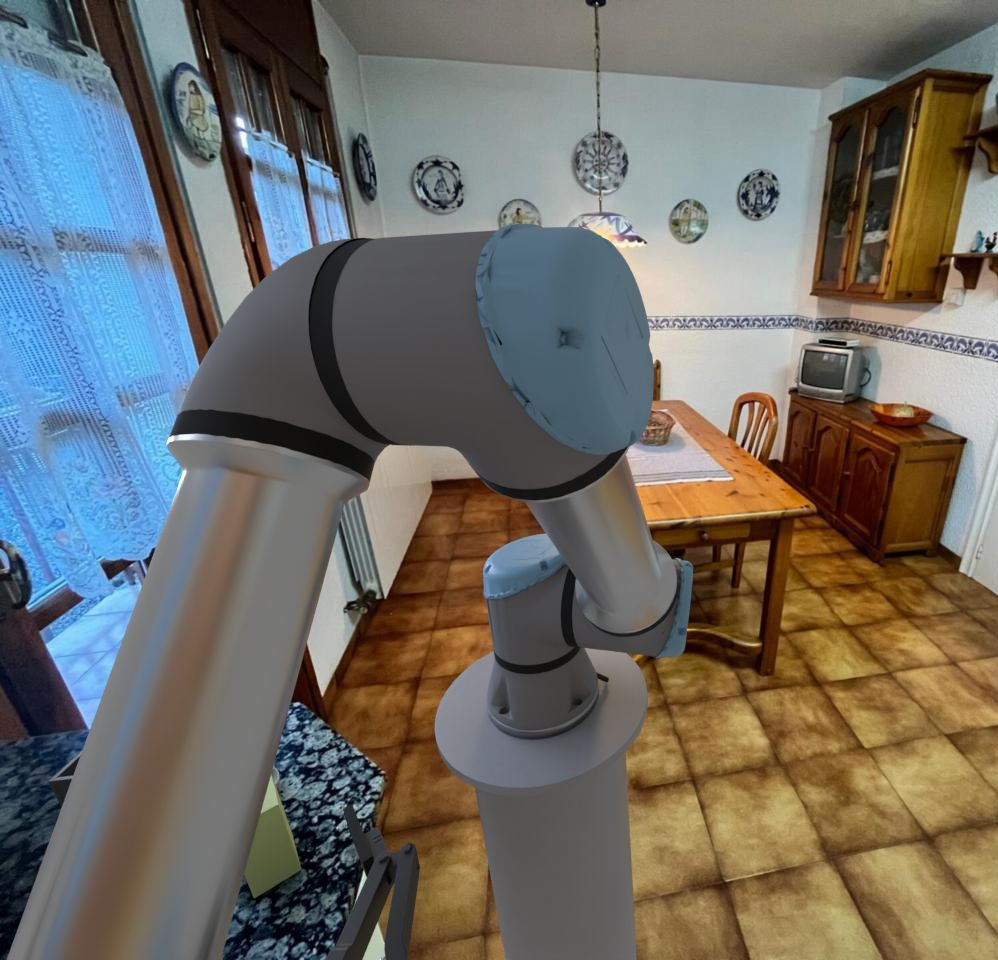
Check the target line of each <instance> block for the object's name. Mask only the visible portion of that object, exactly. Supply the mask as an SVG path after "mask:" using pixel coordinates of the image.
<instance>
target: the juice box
mask: <svg viewBox="0 0 998 960" xmlns="http://www.w3.org/2000/svg"><path fill="white" fill-rule="evenodd" d="M301 870H302V866H301V861H300V858H299V855H298V851H297V847H296V842H295V839H294V835H293V831H292V829H291V826H290V823H289V820H288V817H287V814H286V811H285V808H284V805H283V802H282V800H281V797H280V794H279V791H278V789H277V788H276V785H275V782H274V779H273V776H272V774H271V777H270V781H269V784H268V788H267V792H266V795H265V799H264V803H263V806H262V810H261V814H260V817H259V821H258V825H257V829H256V832H255V836H254V840H253V843H252V847H251V851H250V854H249V858H248V862H247V865H246V869H245V873H244V877H245V880H246V882H247V885H248V887H249V889H250V892H251V895H252V897H253V899H256V898H257V897H259V896H261V895H263V894H264V893H266V892H268V891H269V890H271V889H272V888H274V887H275V886H277V885H279V884H280V883H282V882H284V881H286V880H287V879H289V878H290V877H292V876H294V875H295V874H297V873H299V872H300V871H301Z"/></svg>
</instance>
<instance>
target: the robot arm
mask: <svg viewBox="0 0 998 960" xmlns="http://www.w3.org/2000/svg"><path fill="white" fill-rule="evenodd" d="M647 315H648V314H647V311H646V307H645V303H644V300H643V297H642V293H641V291H640V287H639V285H638V282H637V279H636V278H635V275H634V273H633V271H632V268H631V267H630V265H629V263H628V261H627V260H626V258H625V257H624V255H623V254H622V253H621V252H620V251H619V249H618V248H617V247H616V246H615V244H613V242H612V241H610V240H609V239H607V238H605V237H603V236H602V235H600V234H598V233H596V232H595V231H593V230H591V229H590V228H585V227H581V226H549V227H548V226H546V227H545V226H544V227H543V226H540V225H539V224H536V223H535V224H533V223H519V222H518V223H514V224H507V225H504V226H501V227H498V229H496V230H481V231H479V230H478V231H466V232H465V231H464V232H452V233H451V232H450V233H449V232H448V233H437V234H436V233H431V234H418V235H403V236H402V235H401V236H387V237H378V238H371V237H356V238H342V239H337V240H332V241H329V242H328V241H327V242H324V243H320V244H318V245H315V246H313V247H310V248H309V249H305V250H304V251H302V252H300V253H298V254H295V255H293V256H292V257H290V258H289V259H287V260H286V261H285V262H283V263H282V264H280V265H279V266H278V267H277V268H275V269H274V270H273V271H271V272H270V273H269V274H267V275H266V276H265V277H263V279H261V281H260V282H259V283H258V284H257V285H256V286H255V287H254V288H253V289H252V290H251V291H250V292H249V293H248V294H247V295H246V296H245V297H244V298H243V300H242V301H241V302H240V304H239V305H238V307H237V308H236V309H235V310H234V311H233V313H232V314H231V316H230V317H229V318H228V320H226V322H225V323H224V325H223V327H221V330H220V331H219V332H218V334H217V336H216V337H215V338H214V341H213V342H212V344H211V345H210V347H209V348H208V350H207V352H206V353H205V355H204V357H203V359H202V361H201V363H200V364H199V366H198V368H197V370H196V371H195V373H194V375H193V377H192V379H191V380H190V383H189V385H188V387H187V391H186V393H185V395H184V398H183V401H182V403H181V406H180V407H179V410H178V413H177V415H176V418H175V421H174V423H173V425H172V429H171V432H170V434H169V436H168V439H167V442H166V444H165V445H166V446H165V448H166V449H167V450H168V451H169V453H170V454H171V455H172V457H173V458H174V460H175V462H176V463H177V464H178V465H179V467H180V468H181V473H182V474H181V477H180V480H179V483H178V485H177V488H176V491H175V493H174V496H173V499H172V502H171V505H170V507H169V510H168V513H167V515H166V518H165V521H164V524H163V527H162V530H161V532H160V535H159V538H158V541H157V544H156V546H155V549H154V551H153V554H152V557H151V559H150V562H149V565H148V568H147V571H146V573H145V576H144V579H143V582H142V585H141V587H140V590H139V593H138V595H137V599H136V602H135V604H134V607H133V609H132V612H131V615H130V617H129V621H128V623H127V626H126V629H125V632H124V634H123V637H122V639H121V642H120V646H119V648H118V651H117V654H116V657H115V658H114V659H115V660H114V662H113V665H112V667H111V670H110V673H109V676H108V679H107V682H106V684H105V687H104V690H103V692H102V695H101V698H100V701H99V703H98V706H97V709H96V712H95V715H94V716H93V717H94V718H93V720H92V722H91V726H90V728H89V731H88V734H87V737H86V739H85V742H84V745H83V748H82V750H81V751H82V753H81V756H80V759H79V761H78V764H77V767H76V770H75V772H74V775H73V778H72V781H71V783H70V786H69V789H68V792H67V795H66V797H65V800H64V803H63V806H62V807H61V809H60V810H59V814H58V816H57V820H56V823H55V825H54V828H53V830H52V833H51V837H50V839H49V842H48V844H47V847H46V850H45V852H44V855H43V858H42V861H41V864H40V866H39V869H38V872H37V875H36V877H35V881H34V883H33V886H32V889H31V891H30V894H29V896H28V898H27V899H28V900H27V903H26V905H25V908H24V910H23V913H22V916H21V919H20V922H19V925H18V927H17V930H16V933H15V936H14V939H13V942H12V943H11V946H10V949H9V952H8V955H7V958H6V960H222V957H223V954H224V950H225V945H226V942H227V938H228V936H229V932H230V928H231V923H232V920H233V917H234V913H235V910H236V907H237V902H238V898H239V895H240V891H241V887H242V883H243V879H244V877H245V875H244V873H245V869H246V865H247V862H248V858H249V854H250V851H251V847H252V843H253V840H254V836H255V832H256V829H257V825H258V821H259V817H260V814H261V810H262V806H263V803H264V799H265V795H266V792H267V788H268V784H269V781H270V777H271V773H272V770H273V767H275V762H276V758H277V754H278V751H279V747H280V744H281V740H282V736H283V733H284V729H285V724H286V721H287V718H288V714H289V710H290V706H291V704H292V700H293V695H294V692H295V688H296V685H297V681H298V676H299V674H300V671H301V670H300V669H301V666H302V662H303V659H304V655H305V651H306V648H307V644H308V640H309V637H310V634H311V633H310V632H311V629H312V627H313V626H312V625H313V622H314V619H315V615H316V611H317V607H318V604H319V600H320V596H321V592H322V589H323V585H324V581H325V577H326V574H327V570H328V568H329V567H328V566H329V563H330V559H331V555H332V551H333V549H334V544H335V541H336V537H337V533H338V529H339V526H340V522H341V518H342V515H343V511H344V508H345V505H346V504H347V503H348V502H349V501H351V500H353V499H354V498H356V497H358V496H359V495H361V494H363V493H365V492H367V491H368V489H369V487H370V483H371V481H372V480H371V479H372V475H373V471H374V467H375V465H376V462H377V459H378V457H379V456H380V455H381V454H382V453H383V451H384V450H385V449H386V448H387V447H389V446H410V447H413V446H416V447H418V446H420V447H446V448H450V449H453V450H455V451H457V452H458V453H460V454H461V455H462V457H463V458H464V459H465V461H466V462H467V463H468V465H469V466H470V467H471V469H472V470H473V471H474V472H475V474H476V475H477V476H478V478H479V480H481V482H483V483H484V485H485V486H487V488H489V489H490V490H492V491H493V492H495V493H497V494H498V495H500V496H502V497H504V498H506V499H510V500H513V501H516V502H522V503H524V504H525V505H526V506H527V508H528V509H529V511H530V512H531V514H532V515H533V516H534V518H535V520H536V521H537V523H538V524H539V525H540V527H541V528H542V530H543V531H544V533H539V534H538V533H537V534H534V535H529V536H525V537H522V538H519V539H516V540H513V541H511V542H509V543H507V544H504V545H503V546H501V547H499V548H498V549H497V550H495V551H494V552H493V553H492V554H490V556H489V557H488V558H487V560H486V561H485V562H484V565H483V569H482V576H483V577H482V578H483V579H482V580H483V597H484V598H485V604H486V605H485V606H486V610H487V618H488V624H489V630H490V636H491V642H492V643H491V644H492V650H493V651H494V656H495V660H494V664H493V669H492V673H491V677H490V682H489V686H488V691H487V707H488V713H489V717H490V719H491V721H492V723H493V724H494V725H495V726H496V728H498V729H499V730H500V731H502V732H503V733H505V734H507V735H509V736H512V737H515V738H520V739H530V740H531V739H544V738H549V737H554V736H557V735H560V734H562V733H565V732H567V731H569V730H571V729H573V728H574V727H576V726H577V725H579V724H580V723H581V722H583V721H584V720H585V719H586V718H587V717H588V716H589V715H590V713H591V712H592V711H593V709H594V707H595V706H596V703H597V701H598V697H599V684H598V679H600V680H602V681H604V682H608V681H609V678H608V677H606V676H604V675H601V674H599V673H597V672H596V670H595V668H594V666H593V664H592V662H591V660H590V658H589V656H588V654H587V652H586V650H585V648H589V649H597V650H606V651H614V652H622V653H627V654H632V655H639V656H646V657H647V656H649V657H652V658H655V659H660V658H677V657H679V656H681V655H682V654H683V653H684V651H685V649H686V643H687V642H686V641H687V634H688V633H687V632H688V625H689V617H690V609H691V600H692V590H693V580H694V579H693V578H694V566H693V564H692V563H691V562H690V561H688V560H682V559H681V558H678V557H675V558H672V557H671V555H670V554H669V553H668V551H667V550H666V549H665V548H664V547H663V546H662V545H661V544H660V543H658V542H657V541H655V540H653V536H652V534H651V530H650V527H649V524H648V521H647V517H646V514H645V511H644V507H643V504H642V501H641V498H640V495H639V492H638V488H637V485H636V482H635V479H634V476H633V475H634V474H633V472H632V469H631V466H630V462H629V459H628V457H627V454H628V452H629V449H630V448H631V447H632V446H633V445H635V444H636V443H637V442H639V440H640V439H641V437H642V436H643V435H644V433H645V431H646V429H647V427H648V423H649V420H650V417H651V413H652V407H653V402H654V401H653V398H654V385H655V383H654V382H655V381H654V379H655V371H654V359H653V353H652V351H651V347H650V341H651V331H650V325H649V319H648V316H647ZM342 811H343V814H344V818H345V821H346V826H347V828H348V831H349V835H350V837H351V839H352V842H353V845H354V848H355V850H356V853H357V856H358V859H359V861H360V864H361V866H362V869H363V872H364V875H365V877H366V878H365V881H364V883H363V885H362V887H361V889H360V891H359V894H358V896H357V898H356V901H355V903H354V905H353V907H352V909H351V911H350V914H349V915H348V918H347V920H346V922H345V924H344V927H343V929H342V931H341V933H340V936H339V938H338V939H337V942H336V944H335V946H332V947H331V948H330V950H329V951H328V953H327V956H326V958H325V960H364V957H365V954H366V952H367V949H368V947H369V945H370V942H371V941H372V937H373V935H374V932H375V930H376V927H377V925H378V923H379V920H380V918H381V915H382V912H383V910H384V908H385V905H386V902H387V900H388V898H389V895H390V894H391V890H392V889H393V890H392V896H391V901H390V907H389V911H388V918H387V925H386V929H385V930H386V931H385V936H384V945H383V946H384V947H383V948H384V956H382V957H381V958H379V960H409V955H410V947H411V940H412V931H413V925H414V917H415V910H416V902H417V895H418V894H417V893H418V887H419V879H420V873H421V865H420V859H419V856H418V852H417V847H416V844H415V843H414V842H407V843H405V844H404V845H403V846H402V847H401V848H400V850H397V851H390V850H389V849H388V846H387V845H386V842H385V840H384V838H383V835H382V833H381V830H380V829H378V828H377V827H374V828H372V829H371V830H369V831H367V832H366V833H364V830H363V828H362V826H361V822H360V821H359V818H358V815H357V813H356V811H355V807H354V805H353V803H351V804H349V805H347V806H345V807H343V808H342Z"/></svg>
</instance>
